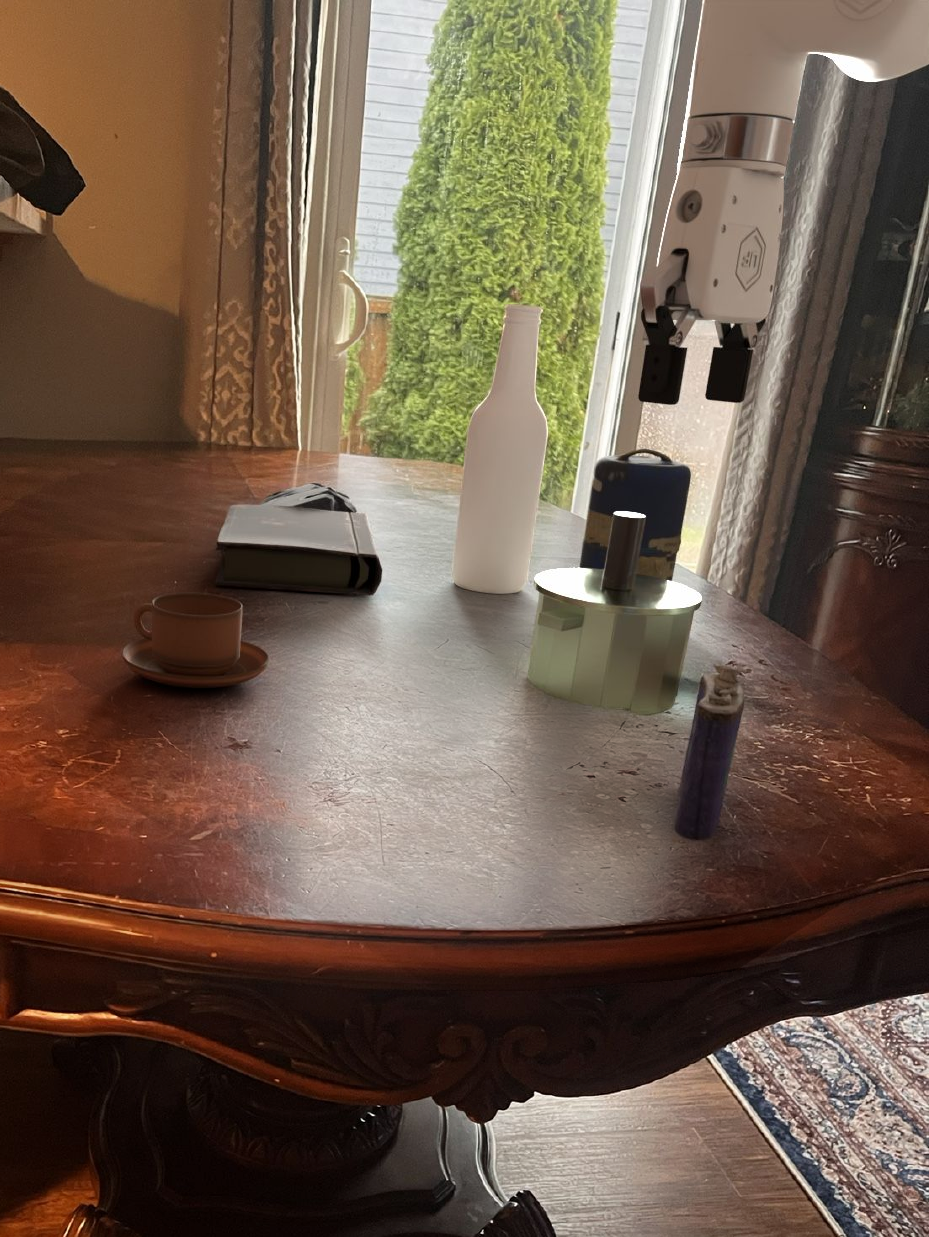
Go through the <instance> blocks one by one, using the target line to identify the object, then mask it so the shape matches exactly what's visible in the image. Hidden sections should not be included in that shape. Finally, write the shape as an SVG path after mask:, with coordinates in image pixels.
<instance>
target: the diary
mask: <svg viewBox="0 0 929 1237" xmlns="http://www.w3.org/2000/svg"><path fill="white" fill-rule="evenodd" d="M376 545H377V544H376V542H375V539H374V535H373V532H372V527H371V523H370V520H369V517H368V515H367V514H366V512H365V513H364V512H356V513H353V512H351V513H348V512H338V511H327V510H319V509H311V508H303V507H291V506H277V505H261V504H232V505H230V506H229V508H228V511H227V513H226V516H225V519H224V522H223V525H222V527H221V529H220V532H219V534H218V537H217V540H216V548H215V551H223V554H222V556H221V562H220V565H219V571H218V574H217V577H216V580H215V582H214V583H215V586H223V587H239V588H240V587H241V588H252V589H253V588H255V589H256V588H257V589H269V590H284V591H285V590H286V591H299V592H314V593H315V592H316V593H331V594H345V595H347V594H348V595H354V594H355V595H359V596H360V595H361V596H374V595H375V594H376V592H377V591H378V588H379V587H380V585H381V583H382V579H383V568H382V564H381V561H380V558H379V555H378V549H377V546H376Z"/></svg>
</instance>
